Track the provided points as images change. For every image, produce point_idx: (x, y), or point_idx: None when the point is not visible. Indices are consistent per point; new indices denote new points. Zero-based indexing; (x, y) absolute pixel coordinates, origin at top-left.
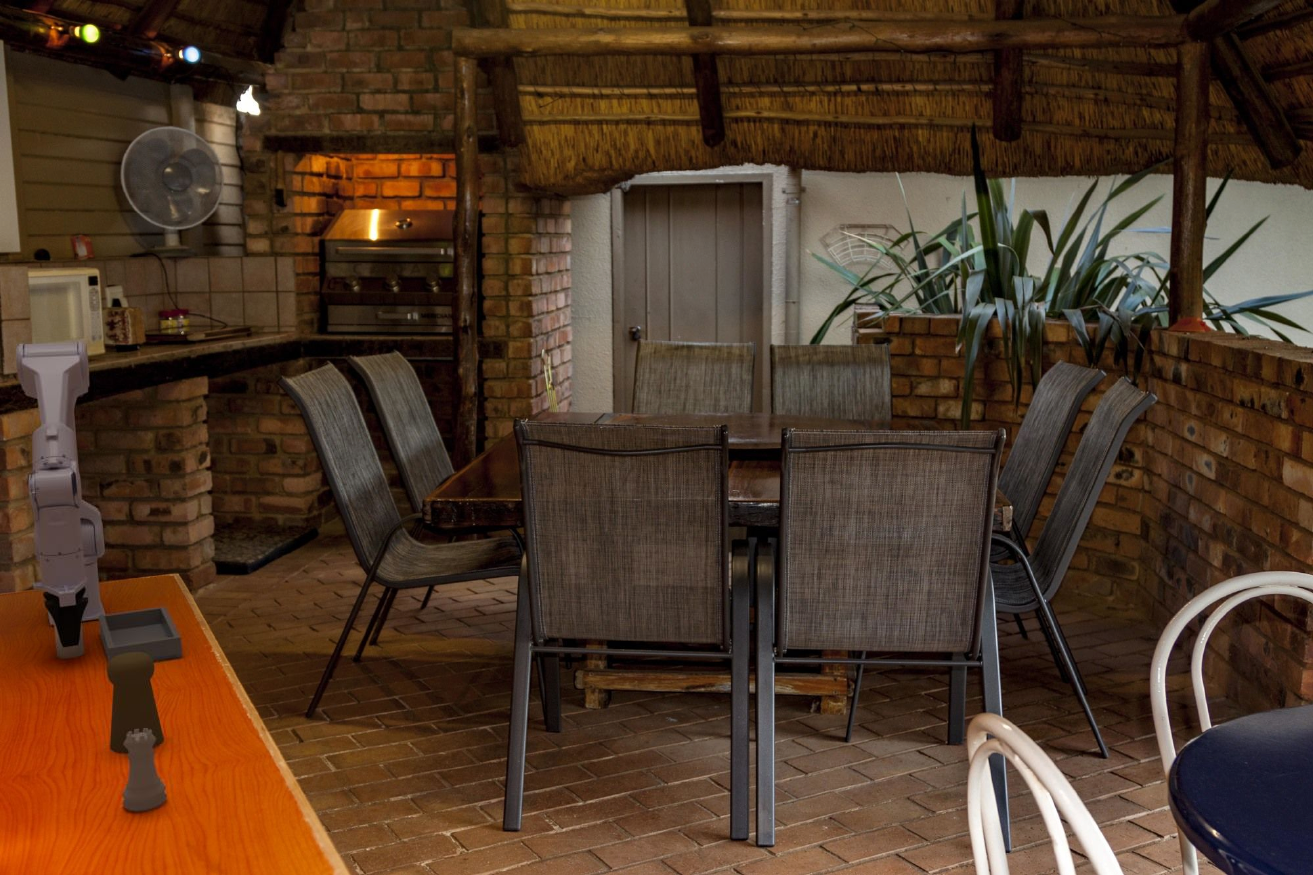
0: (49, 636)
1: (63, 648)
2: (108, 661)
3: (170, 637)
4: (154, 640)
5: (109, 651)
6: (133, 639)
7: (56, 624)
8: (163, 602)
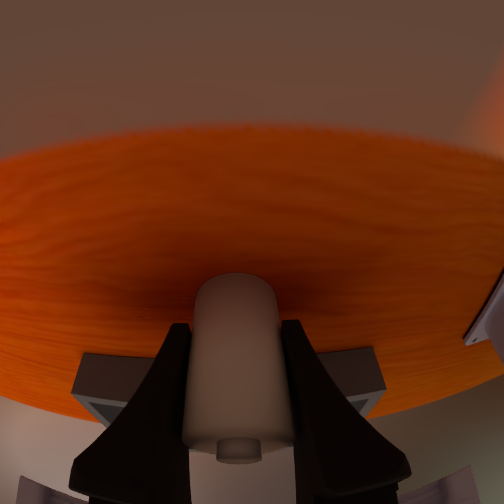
0: (458, 251)
1: (195, 315)
2: (116, 360)
3: None
4: None
5: (73, 387)
6: None
7: (129, 401)
8: (453, 385)
